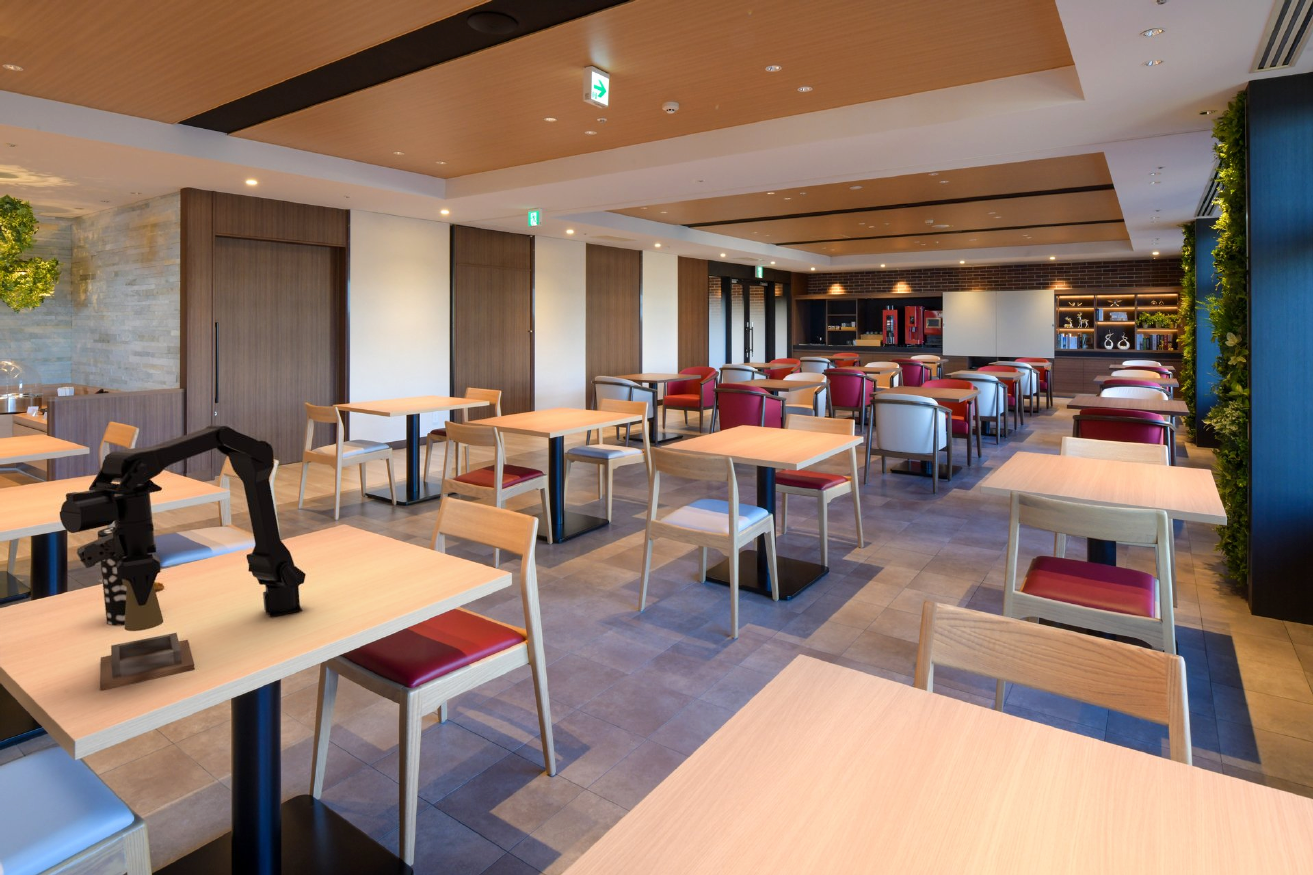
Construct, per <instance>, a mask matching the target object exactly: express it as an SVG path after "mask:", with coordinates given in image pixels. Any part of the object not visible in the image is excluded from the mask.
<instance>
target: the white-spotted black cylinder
mask: <svg viewBox="0 0 1313 875" xmlns="http://www.w3.org/2000/svg"><path fill="white" fill-rule="evenodd" d="M113 527H114V526H110V527H105V528H102V529H100V530H98V531H97V539H100V538H102V537H105V536H108V535H110V534H113ZM121 559H122V558H117V559H116V557H115V555H114V556H112V557H110V558H108V559H105V560H103V561H101V562H100V570H101V578H102V579H101V581H102V590H103V599H104V608H105V618H106V623H107V624H108V625H110V626H125V609H126V591H127V587H126V586H124V584H123V582H122V579H118V577H117V565H116V564H117V563H118V561H119V560H121Z"/></svg>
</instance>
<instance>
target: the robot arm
mask: <svg viewBox="0 0 1313 875" xmlns="http://www.w3.org/2000/svg"><path fill="white" fill-rule="evenodd" d="M214 449H215V450H216V451H218V453H220V454H222V455H224V456H226V457H228V460H229V463H230V466H231V468H232V470H233V472H234V473H235V475H236V476H238V477H239V480H241V482H242V484H243V488H244V493H245V498H246V499H245V500H246V504H247V509H248V515H249V518H250V523H251V528H252V534H253V539H254V548H253V549H252V552H251V553H248V554H246V560H247V563H248V569H247V570H248V572H249V573H251V574H252V576H253V577H254V578H255V579H256V580H257V582H258V584H259V585H264V587H265V591H263V592H262V596H263V597H262V598H263V599H262V600H263V610H264V612H265V613H267V614H268V617H271V618H273V617H277V616H284V615H287V614H288V615H290V614H294V613H298V612H302V611H303V609H302V607H301V602H300V590H299V589H300V588H299V587H300V585H302V584H304V583H305V579H306V573H305V572H304V571H302V569H300V568H298V567H297V566H296V565H295V562H294V559H293V556H292V554H291V551H290V550H289V549H288V547H287V546H286V545H285V544H284V542H283V541H282V540H281V536H280V531H279V526H278V521H277V515H276V509H275V503H274V499H273V494H272V487H271V482H270V476H271V475H272V472H273V470H274V467H275V456H274V449H273V446H272V444H270V443H269V442H267V441H265V440H258V439H255V438H254V437H251V436H248V435H246V434H244V433H241V432H239V431H236V430H235V429H233V428H231V427H230V426H227V425H218V424H217V425H216V424H212V425H208V426H206V427H205V428H203V429H198V430H196V431H194V432H191V433H188V434H185V435H182V436H179V437H176V438H173V439H171V440H167V441H163V442H161V443H159V444H156V445H151V446H144V447H132V448H125V449H120V450H119V449H118V450H114V451H111V452H109V453H108V454H107V455H105V457H104V459H103V461H102V465H101V468H100V470H99V471H98V473H97V475H96V476H95V478H94V480H92V482H91V484H90V486H89V488H88V490H84V491H74V492H73V491H72V492H67V493H66V494H65V500H64V502H62V504H61V507H60V511H59V518H60V521H61V524H62V527H63V528H64V529H65V530H66V531H68V533H70V534H76V533H81V532H85V531H89V530H94V529H98V528H102V527H107V526H111V525H112V524H113V525H114V526H112V527H113V534H110V535H108V536H105V537H102V538H100V539H98V538H97V539H96V540H92V541H90V542H89V543H85V544H84V545H81V546H79V547H78V548H77V549H76V554H77V556H78V558H79V560H80V562H82V565H84V567H85V568H86V569H89V568H91V567H95V566H96V565H97V564H98V563H101V561H103V560H105V559H108V558H110V557H112V556H114V555H115V557H116V559H117V558H122V559H121V560H119V561H118V563H117V564H116V565H117V577H118V579H125V580H127V581H129V582H130V584H131V587H132V590H133V592H134V595H135V597H136V600H137V603H138V605H139V606H142V605H146V603H147V600H148V597H149V595H150V592H151V589H152V587H153V584H154V582H156V580H155V579H157V576H158V574H160V573H161V562H160V558H159V557H158V556H157V555H156V554H155V553H157V546H156V541H155V532H154V531H155V529H154V522H153V521H154V520H153V511H152V501H151V493H158V492H161V491H162V490H163V487H162V486H160V485H158V484H156V483H155V482H153V480H152V479H154V478H156V477H157V476H158V475H160V474H161V473H162V472H163V471H165V470H164V469H166V468H169V466H171V465H173V464H176V463H178V462H179V463H180V462H181V461H184V460H187V459H190V458H193V457H195V456H196V457H197V456H198V455H201V454H204V453H207V452H210V451H211V450H214ZM153 553H154V554H153Z"/></svg>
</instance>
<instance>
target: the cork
mask: <svg viewBox="0 0 1313 875" xmlns="http://www.w3.org/2000/svg"><path fill="white" fill-rule="evenodd" d="M156 579H157V578H156ZM156 579H155V581H156ZM122 582H123V584H124V586H126V587H127V591H126V609H125V625H124V628H123V629H124V630H125V631H127V632H138V631H146V630H149V629H153V628H155V627H158V626H161V625H162V624H163V623H164V618H163V614H162V610H161V608H160V607H161V606H160V602H159V600H158V596H157V591H156V590H155V587H154V584H153V587H152V589H151V592H150V595H149V597H148V600H147V603H146V605H142V606H139V605H138V603H137V600H136V597H135V595H134V592H133V590H132V587H131V584H130V582H129V581H127V580H125V579H122Z"/></svg>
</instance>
